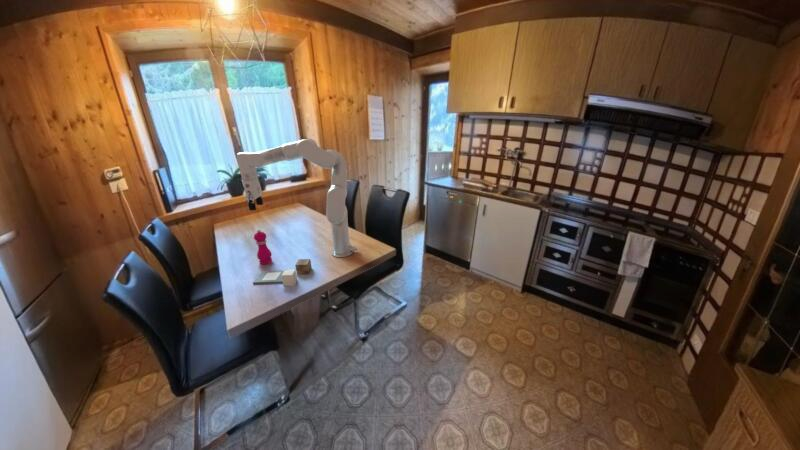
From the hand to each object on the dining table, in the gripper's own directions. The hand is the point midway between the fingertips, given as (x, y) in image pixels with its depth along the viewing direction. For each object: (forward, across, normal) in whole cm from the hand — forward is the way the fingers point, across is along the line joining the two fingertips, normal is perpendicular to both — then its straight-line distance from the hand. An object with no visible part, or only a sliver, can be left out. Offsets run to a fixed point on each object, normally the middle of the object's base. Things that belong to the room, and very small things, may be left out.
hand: (256, 207), depth 145 cm
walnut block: (+31, -21, -26) cm, 45 cm away
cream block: (+31, -30, -21) cm, 48 cm away
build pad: (+30, -25, -11) cm, 41 cm away
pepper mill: (+31, -7, -2) cm, 31 cm away
